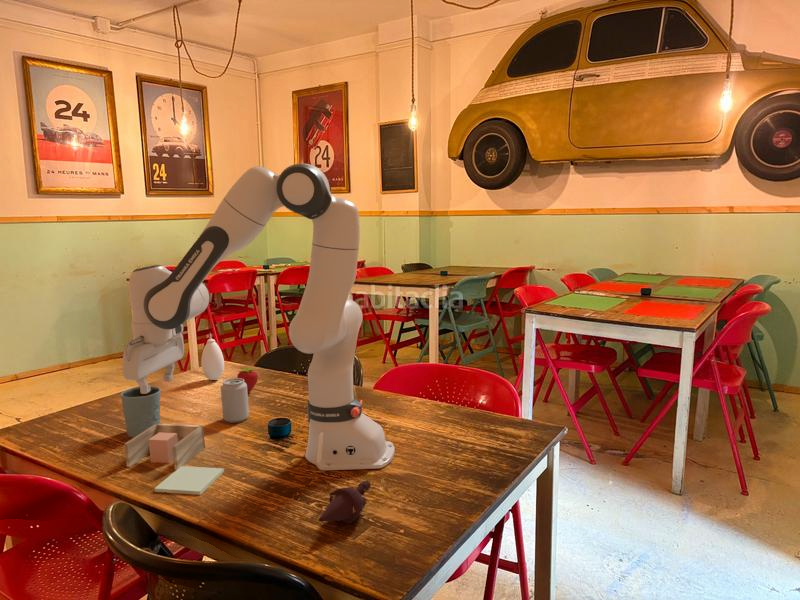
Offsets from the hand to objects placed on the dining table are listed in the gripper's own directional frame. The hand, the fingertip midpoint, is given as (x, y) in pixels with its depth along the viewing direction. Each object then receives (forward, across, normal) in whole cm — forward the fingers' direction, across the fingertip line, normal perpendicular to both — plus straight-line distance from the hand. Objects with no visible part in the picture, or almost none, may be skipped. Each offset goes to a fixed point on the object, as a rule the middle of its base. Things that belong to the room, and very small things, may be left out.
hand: (157, 386), depth 138 cm
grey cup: (+19, +16, +16) cm, 29 cm away
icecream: (+18, -22, -53) cm, 61 cm away
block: (+19, 0, 0) cm, 19 cm away
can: (+19, +28, -6) cm, 34 cm away
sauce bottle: (+19, +64, +20) cm, 69 cm away
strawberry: (+19, +52, +1) cm, 55 cm away
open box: (+19, +2, 0) cm, 19 cm away
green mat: (+19, -10, -13) cm, 25 cm away
